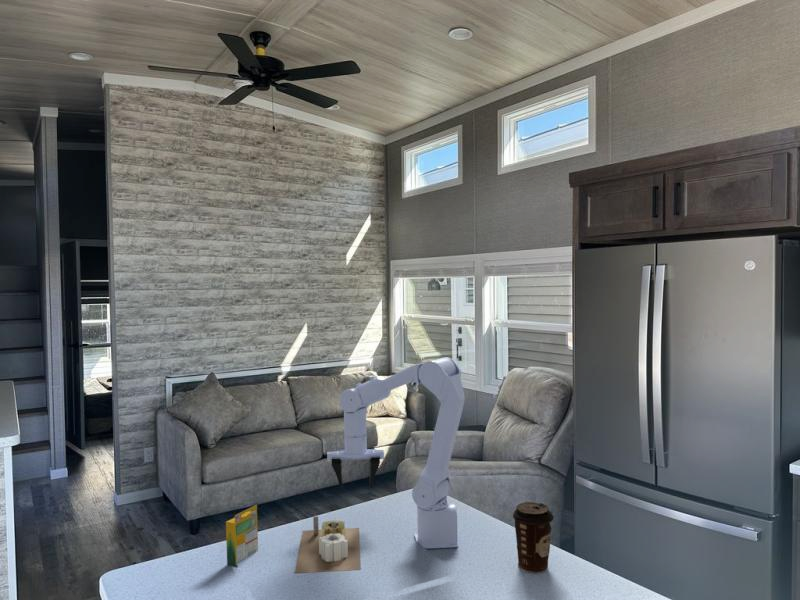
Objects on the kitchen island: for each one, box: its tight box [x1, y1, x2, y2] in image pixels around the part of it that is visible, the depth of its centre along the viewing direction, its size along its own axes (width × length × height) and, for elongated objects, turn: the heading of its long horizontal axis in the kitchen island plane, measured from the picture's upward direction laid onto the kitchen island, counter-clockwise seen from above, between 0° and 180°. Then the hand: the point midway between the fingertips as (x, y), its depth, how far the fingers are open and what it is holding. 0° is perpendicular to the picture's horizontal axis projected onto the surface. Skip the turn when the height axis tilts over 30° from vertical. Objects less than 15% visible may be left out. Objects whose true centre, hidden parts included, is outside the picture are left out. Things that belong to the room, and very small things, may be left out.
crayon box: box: [225, 504, 259, 568], centre depth 133 cm, size 7×3×12 cm, turn 152°
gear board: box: [294, 515, 362, 574], centre depth 136 cm, size 14×22×6 cm, turn 5°
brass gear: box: [321, 520, 346, 537], centre depth 139 cm, size 5×5×4 cm
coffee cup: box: [512, 501, 554, 574], centre depth 128 cm, size 9×8×13 cm
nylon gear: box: [319, 533, 348, 562], centre depth 132 cm, size 5×5×4 cm
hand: (356, 487), depth 151 cm, fingers open, 7 cm apart
